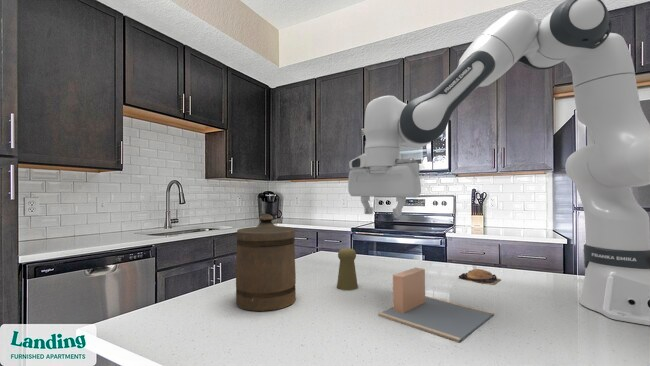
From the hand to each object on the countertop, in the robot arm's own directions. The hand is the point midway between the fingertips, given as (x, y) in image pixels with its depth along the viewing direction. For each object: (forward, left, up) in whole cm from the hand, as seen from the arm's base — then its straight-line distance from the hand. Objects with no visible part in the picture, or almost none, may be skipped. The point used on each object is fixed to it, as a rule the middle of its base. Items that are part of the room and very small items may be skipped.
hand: (382, 215), depth 81 cm
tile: (-8, 0, -21) cm, 22 cm away
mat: (-14, 0, -22) cm, 26 cm away
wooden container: (+21, +21, -22) cm, 37 cm away
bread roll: (-10, -36, -22) cm, 44 cm away
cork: (+14, -2, -22) cm, 26 cm away
